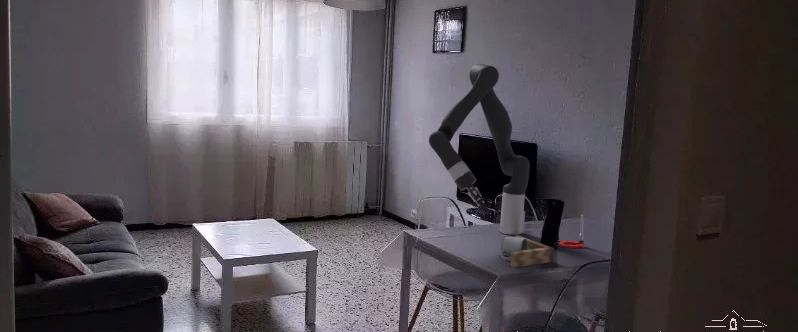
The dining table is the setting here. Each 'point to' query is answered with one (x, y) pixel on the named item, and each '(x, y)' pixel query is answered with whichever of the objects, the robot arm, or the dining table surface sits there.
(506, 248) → the ceramic mug
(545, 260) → the corner walls
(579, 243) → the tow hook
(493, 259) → the dining table surface
